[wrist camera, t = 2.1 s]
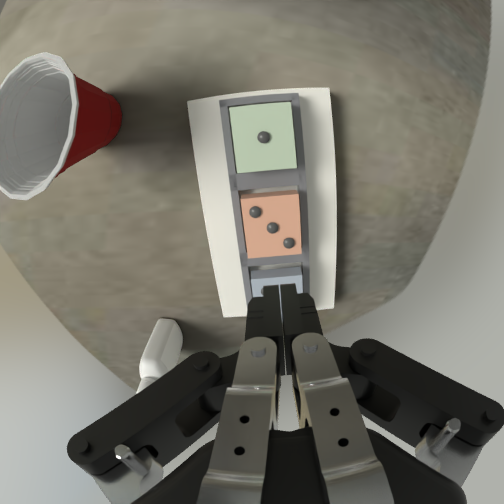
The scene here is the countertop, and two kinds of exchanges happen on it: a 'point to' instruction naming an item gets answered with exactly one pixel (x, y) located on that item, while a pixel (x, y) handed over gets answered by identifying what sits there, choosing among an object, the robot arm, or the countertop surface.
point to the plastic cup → (49, 123)
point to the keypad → (236, 184)
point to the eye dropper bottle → (160, 352)
